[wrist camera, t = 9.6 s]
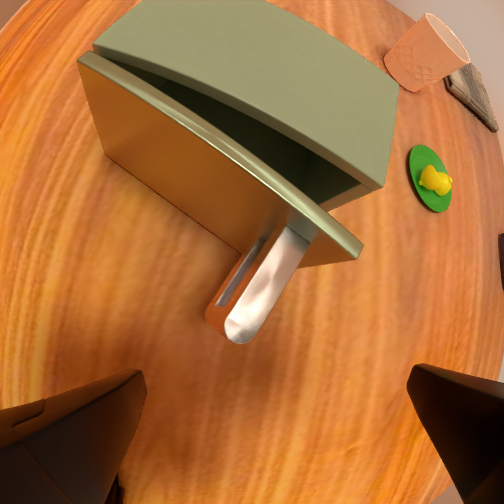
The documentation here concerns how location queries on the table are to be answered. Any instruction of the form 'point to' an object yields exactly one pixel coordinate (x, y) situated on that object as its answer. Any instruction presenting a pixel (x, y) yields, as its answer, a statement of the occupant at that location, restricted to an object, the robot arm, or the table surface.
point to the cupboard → (267, 88)
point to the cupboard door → (215, 193)
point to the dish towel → (472, 93)
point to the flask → (502, 255)
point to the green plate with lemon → (430, 178)
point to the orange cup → (425, 54)
